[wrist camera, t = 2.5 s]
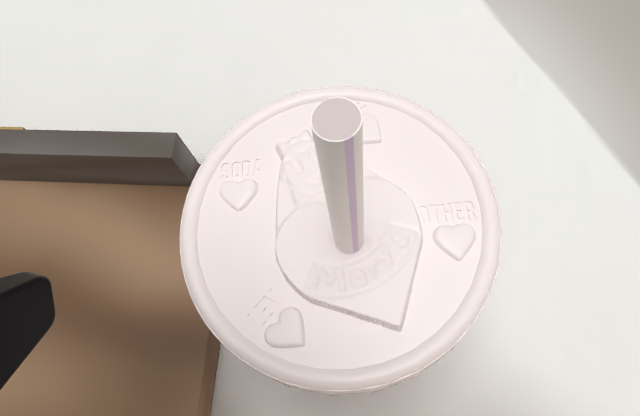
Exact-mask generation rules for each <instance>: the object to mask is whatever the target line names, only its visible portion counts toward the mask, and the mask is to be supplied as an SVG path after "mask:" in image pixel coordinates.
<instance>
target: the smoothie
mask: <svg viewBox="0 0 640 416" xmlns="http://www.w3.org/2000/svg"><path fill="white" fill-rule="evenodd" d="M501 248H502V227H501V216H500V210H499V205H498V201H497V197H496V194H495V191H494V187H493V185H492V183H491V180H490V178H489V175H488V173H487V171H486V169H485V168H484V166H483V164H482V162H481V160H480V159H479V157H478V156H477V154H476V153H475V151H474V150H473V149H472V147H471V146H470V145H469V144H468V143H467V141H466V140H465V139H464V138H463V137H462V136H461V135H460V134H459V133H458V132H457V131H456V130H455V129H454V128H453V127H452V126H451V125H450V124H448V123H447V122H446V121H445V120H444V119H442V118H441V117H440V116H438V115H437V114H435V113H434V112H432V111H431V110H429V109H427V108H425V107H424V106H422V105H420V104H418V103H416V102H414V101H412V100H409V99H407V98H405V97H402V96H399V95H396V94H393V93H390V92H386V91H382V90H378V89H372V88H366V87H356V86H330V87H320V88H314V89H308V90H304V91H300V92H296V93H293V94H290V95H287V96H284V97H282V98H279V99H277V100H275V101H272V102H270V103H268V104H266V105H264V106H262V107H261V108H259V109H257V110H255V111H254V112H252V113H251V114H249V115H248V116H246V117H245V118H243V119H242V120H241V121H240V122H238V123H237V124H236V125H234V126H233V127H232V128H231V129H230V130H229V131H228V132H227V133H226V134H225V135H224V136H223V137H222V138H221V139H220V140H219V141H218V142H217V143H216V145H215V146H214V147H213V148H212V150H211V151H210V152H209V154H208V155H207V156H206V158H205V159H204V161H203V163H202V164H201V166H200V167H199V169H198V171H197V173H196V175H195V177H194V179H193V181H192V184H191V186H190V189H189V191H188V194H187V197H186V201H185V204H184V208H183V213H182V218H181V226H180V256H181V264H182V269H183V274H184V278H185V282H186V285H187V288H188V291H189V294H190V296H191V298H192V300H193V303H194V305H195V307H196V309H197V311H198V312H199V314H200V316H201V317H202V319H203V321H204V322H205V324H206V325H207V326H208V328H209V329H210V330H211V332H212V333H213V334H214V336H215V337H216V338H217V339H218V340H219V341H220V342H221V343H222V344H223V345H224V346H225V347H226V348H227V349H228V350H229V351H230V352H232V353H233V354H234V355H235V356H236V357H237V358H239V359H240V360H242V361H243V362H245V363H246V364H248V365H249V366H250V367H251V368H253V369H255V370H257V371H259V372H261V373H263V374H265V375H267V376H269V377H271V378H273V379H275V380H276V381H278V382H280V383H282V384H284V385H286V386H288V387H292V388H297V389H303V390H308V391H313V392H318V393H323V394H328V395H341V394H352V393H363V392H374V391H379V390H381V389H384V388H386V387H389V386H392V385H394V384H397V383H399V382H402V381H404V380H407V379H410V378H412V377H415V376H417V375H419V374H420V373H422V372H423V371H424V370H426V369H427V368H428V367H430V366H431V365H432V364H434V363H435V362H436V361H437V360H439V359H440V358H441V357H443V356H444V355H445V354H447V353H448V352H449V351H450V350H452V349H453V348H454V347H455V345H456V344H457V343H458V341H459V340H460V339H461V338H462V337H463V336H464V334H465V333H466V332H467V331H468V330H469V328H470V327H471V326H472V325H473V323H474V322H475V320H476V319H477V317H478V316H479V314H480V312H481V311H482V309H483V307H484V305H485V303H486V301H487V299H488V297H489V295H490V293H491V290H492V287H493V285H494V282H495V279H496V275H497V271H498V267H499V263H500V255H501Z"/></svg>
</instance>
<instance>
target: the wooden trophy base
mask: <svg viewBox="0 0 640 416" xmlns="http://www.w3.org/2000/svg"><path fill="white" fill-rule="evenodd" d="M200 166H201V164H199V163H198V162H197V160H196V159H195V158H194V156H193V155H192V153H191V152H190V151H189V149H188V148H187V147H186V145H185V144H184V142H183V141H182V140H181V138H180V137H179V136H178V134H177V133H161V132H111V131H62V130H26V129H25V128H23V127H0V277H4V276H8V275H12V274H16V273H20V272H26V271H27V272H33V273H36V274H40V275H43V276H46V277H47V278H49V280H50V281H51V284H52V291H53V298H54V305H55V313H56V315H55V319H54V322H53V324H52V326H51V328H50V329H49V330H48V331H47V333H46V334H45V335H44V336H43V338H42V339H41V340H40V341H39V343H38V344H37V345H36V346H35V348H34V349H33V350H32V351H31V353H30V354H29V355H28V356H27V358H26V359H25V360H24V361H23V363H22V364H21V365H20V366H19V368H18V369H17V370H16V371H15V373H14V374H13V375H12V376H11V378H10V379H9V380H8V381H7V383H6V384H5V385H4V386H3V388H2V389H1V390H0V416H210V410H211V403H212V397H213V390H214V383H215V376H216V369H217V362H218V356H219V349H220V341H219V340H218V339H217V338H216V337H215V336H214V334H213V333H212V332H211V330H210V329H209V328H208V326H207V325H206V324H205V322H204V321H203V319H202V317H201V316H200V314H199V312H198V311H197V309H196V307H195V305H194V303H193V300H192V298H191V296H190V294H189V291H188V288H187V285H186V282H185V278H184V274H183V269H182V264H181V256H180V226H181V218H182V213H183V208H184V204H185V201H186V197H187V194H188V191H189V189H190V186H191V184H192V181H193V179H194V177H195V175H196V173H197V171H198V169H199V167H200Z"/></svg>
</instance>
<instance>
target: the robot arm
mask: <svg viewBox="0 0 640 416" xmlns="http://www.w3.org/2000/svg"><path fill="white" fill-rule="evenodd" d="M55 315H56V313H55V305H54V298H53V291H52V284H51V281H50V280H49V278H47V277H46V276H43V275H40V274H36V273H33V272H27V271H26V272H20V273H16V274H12V275H8V276H4V277H0V390H1V389H2V388H3V386H4V385H5V384H6V383H7V381H8V380H9V379H10V378H11V376H12V375H13V374H14V373H15V371H16V370H17V369H18V368H19V366H20V365H21V364H22V363H23V361H24V360H25V359H26V358H27V356H28V355H29V354H30V353H31V351H32V350H33V349H34V348H35V346H36V345H37V344H38V343H39V341H40V340H41V339H42V338H43V336H44V335H45V334H46V333H47V331H48V330H49V329H50V328H51V326H52V324H53V322H54V319H55Z"/></svg>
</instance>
